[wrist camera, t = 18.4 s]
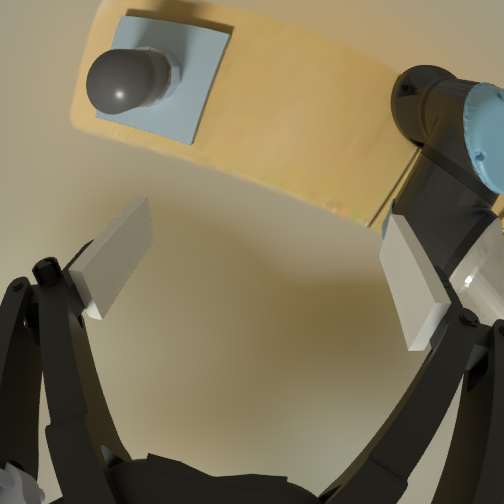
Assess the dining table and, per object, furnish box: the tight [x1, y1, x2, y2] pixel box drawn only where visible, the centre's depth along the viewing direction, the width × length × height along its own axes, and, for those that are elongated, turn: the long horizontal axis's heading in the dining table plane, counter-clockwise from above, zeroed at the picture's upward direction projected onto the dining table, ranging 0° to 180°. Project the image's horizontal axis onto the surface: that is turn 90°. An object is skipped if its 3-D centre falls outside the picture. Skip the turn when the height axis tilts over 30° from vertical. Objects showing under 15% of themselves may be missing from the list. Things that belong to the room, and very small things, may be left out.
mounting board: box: [96, 16, 231, 146], centre depth 40 cm, size 20×20×2 cm
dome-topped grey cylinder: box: [86, 49, 168, 115], centre depth 35 cm, size 9×9×12 cm
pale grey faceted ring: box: [135, 46, 182, 108], centre depth 38 cm, size 10×10×4 cm
